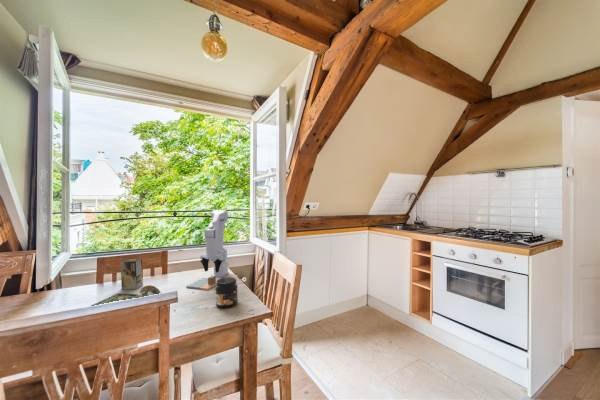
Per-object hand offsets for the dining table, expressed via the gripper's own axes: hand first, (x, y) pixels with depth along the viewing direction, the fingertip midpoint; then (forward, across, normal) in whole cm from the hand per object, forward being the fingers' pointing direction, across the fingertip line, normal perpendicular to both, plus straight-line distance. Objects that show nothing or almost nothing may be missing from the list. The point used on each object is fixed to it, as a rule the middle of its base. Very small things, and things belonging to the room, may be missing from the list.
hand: (211, 271), depth 149 cm
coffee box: (+9, -44, -15) cm, 48 cm away
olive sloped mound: (+9, -26, -32) cm, 42 cm away
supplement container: (+9, +24, -20) cm, 32 cm away
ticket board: (+8, -8, 0) cm, 11 cm away
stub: (+8, 0, 0) cm, 8 cm away
